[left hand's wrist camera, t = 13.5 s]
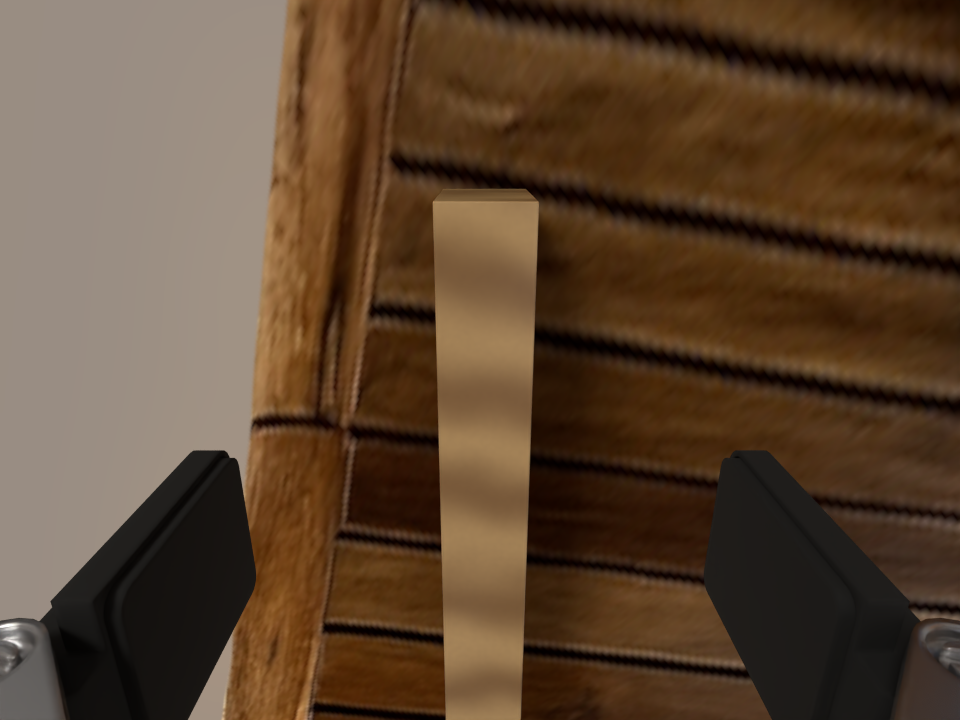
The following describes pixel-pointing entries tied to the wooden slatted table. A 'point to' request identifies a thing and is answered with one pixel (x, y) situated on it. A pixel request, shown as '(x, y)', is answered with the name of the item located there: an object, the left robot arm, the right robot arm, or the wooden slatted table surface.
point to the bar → (484, 439)
